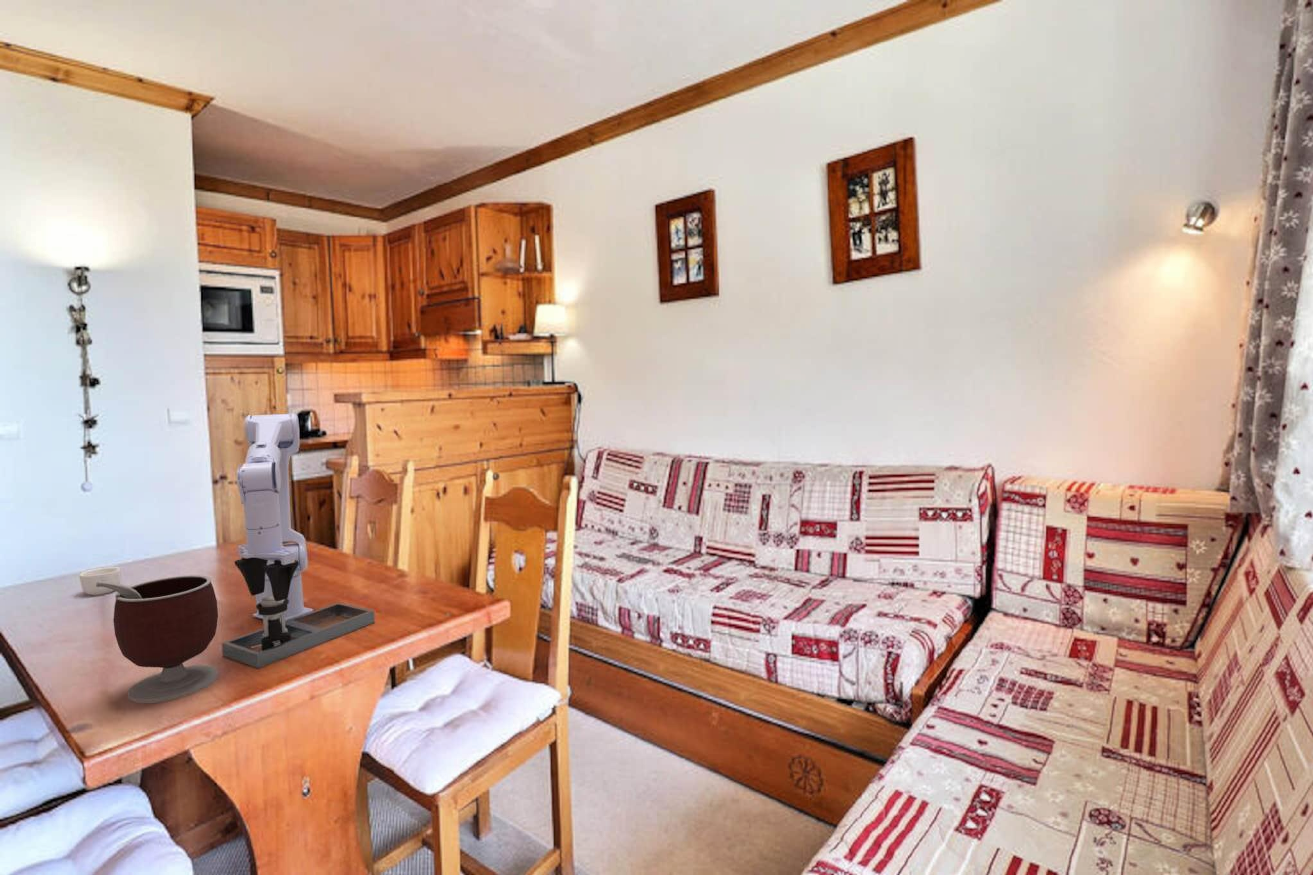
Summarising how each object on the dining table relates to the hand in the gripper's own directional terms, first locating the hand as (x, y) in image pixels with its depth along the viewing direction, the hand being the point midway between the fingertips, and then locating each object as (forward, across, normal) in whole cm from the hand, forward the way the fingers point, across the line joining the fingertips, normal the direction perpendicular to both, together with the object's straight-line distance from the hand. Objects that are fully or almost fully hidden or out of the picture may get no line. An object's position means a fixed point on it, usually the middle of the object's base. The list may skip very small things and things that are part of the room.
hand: (269, 596), depth 123 cm
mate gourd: (+11, -1, -17) cm, 20 cm away
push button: (+11, 0, 0) cm, 11 cm away
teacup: (+11, -75, +2) cm, 76 cm away
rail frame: (+10, 0, +6) cm, 12 cm away
